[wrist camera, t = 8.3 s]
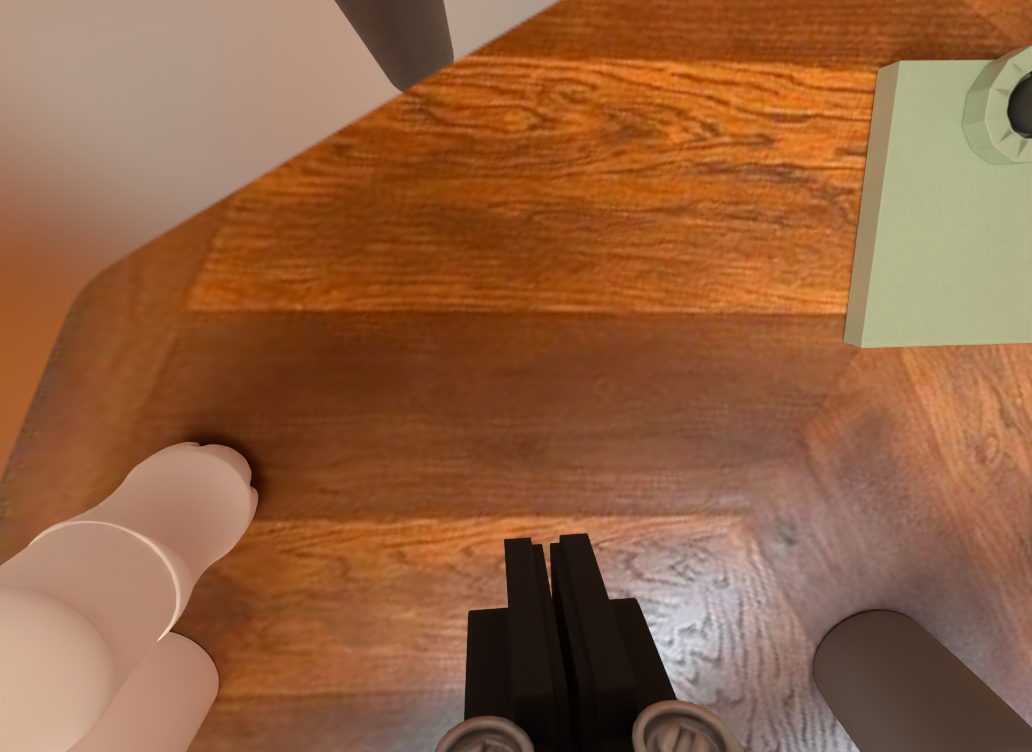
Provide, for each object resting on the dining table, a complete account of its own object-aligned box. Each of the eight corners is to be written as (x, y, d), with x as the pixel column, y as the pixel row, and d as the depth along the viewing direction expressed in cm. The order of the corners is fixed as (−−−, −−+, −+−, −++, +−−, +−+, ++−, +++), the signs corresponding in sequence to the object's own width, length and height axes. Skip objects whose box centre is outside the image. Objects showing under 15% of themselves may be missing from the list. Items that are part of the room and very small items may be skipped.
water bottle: (200, 548, 39) (-258, 1074, 15) (132, 461, 37) (-511, 900, 13) (291, 500, 39) (-32, 967, 14) (227, 410, 37) (-264, 770, 13)
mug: (785, 674, 44) (891, 836, 33) (867, 586, 43) (1010, 723, 31) (910, 750, 47) (1049, 924, 35) (991, 669, 45) (1166, 824, 34)
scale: (878, 60, 34) (922, 42, 30) (1111, 58, 34) (1180, 40, 31) (842, 341, 38) (877, 353, 34) (1050, 335, 38) (1105, 346, 35)
